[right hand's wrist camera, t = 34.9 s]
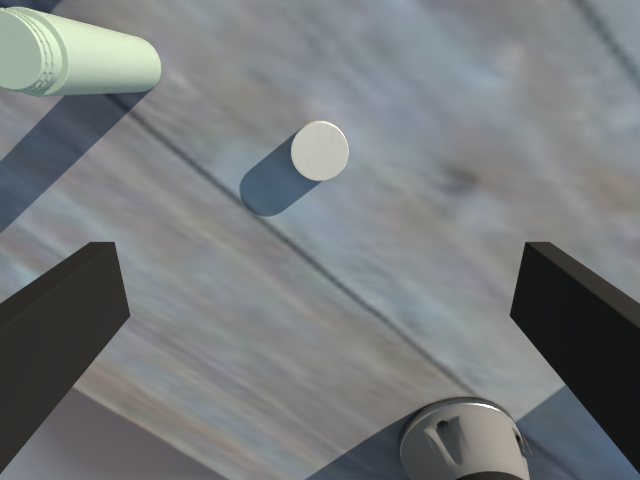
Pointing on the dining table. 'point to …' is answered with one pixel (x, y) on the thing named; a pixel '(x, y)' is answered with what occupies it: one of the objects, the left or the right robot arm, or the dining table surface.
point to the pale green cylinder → (71, 57)
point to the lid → (319, 151)
